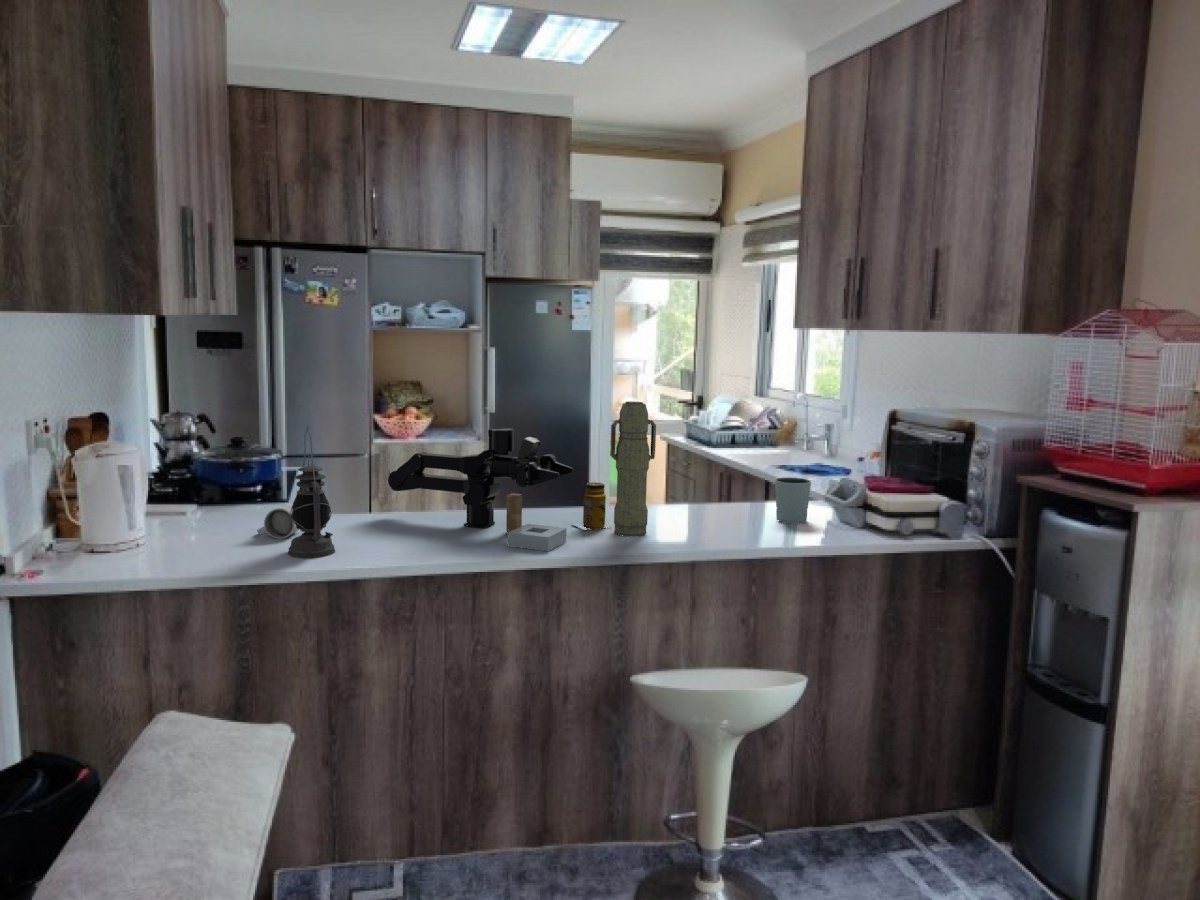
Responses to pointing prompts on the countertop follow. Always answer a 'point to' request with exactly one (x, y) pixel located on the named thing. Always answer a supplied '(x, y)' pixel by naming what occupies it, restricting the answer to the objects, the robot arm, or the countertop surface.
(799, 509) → the grey cup
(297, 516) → the lantern
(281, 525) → the ceramic mug
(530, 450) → the robot arm
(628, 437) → the thermos
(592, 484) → the condiment
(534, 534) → the holder
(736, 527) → the countertop surface
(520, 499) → the peg
